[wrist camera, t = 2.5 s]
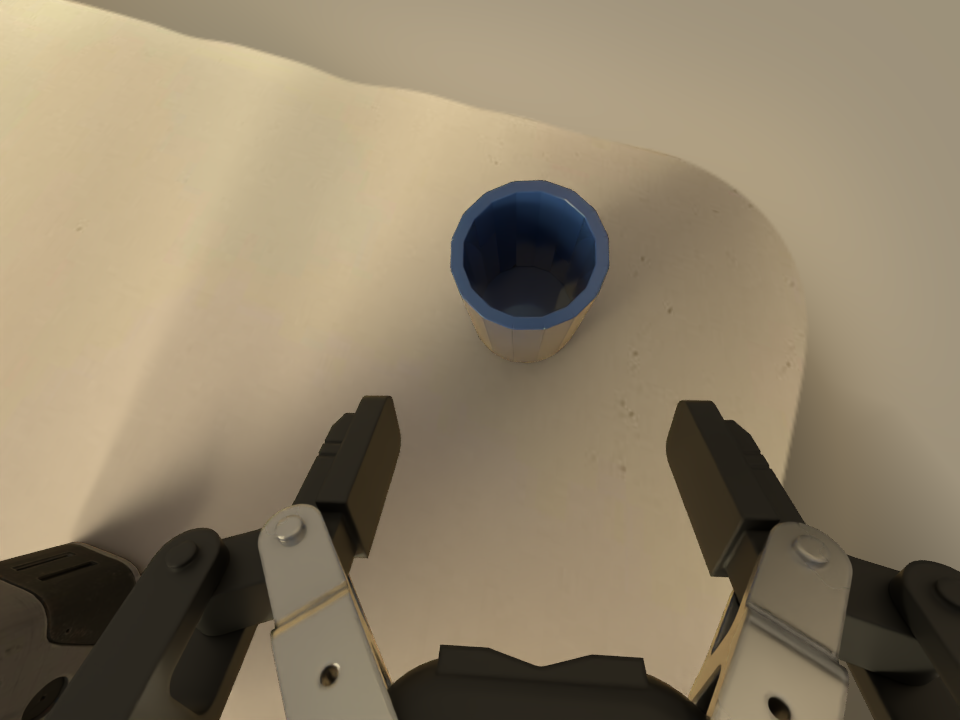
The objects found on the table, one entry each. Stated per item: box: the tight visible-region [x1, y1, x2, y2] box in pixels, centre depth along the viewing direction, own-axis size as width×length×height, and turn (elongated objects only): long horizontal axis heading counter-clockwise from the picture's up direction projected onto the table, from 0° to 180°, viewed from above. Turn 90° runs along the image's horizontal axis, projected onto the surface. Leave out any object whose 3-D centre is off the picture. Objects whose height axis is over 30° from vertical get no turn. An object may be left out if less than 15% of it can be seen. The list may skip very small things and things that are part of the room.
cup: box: [450, 180, 609, 363], centre depth 19 cm, size 6×6×8 cm
